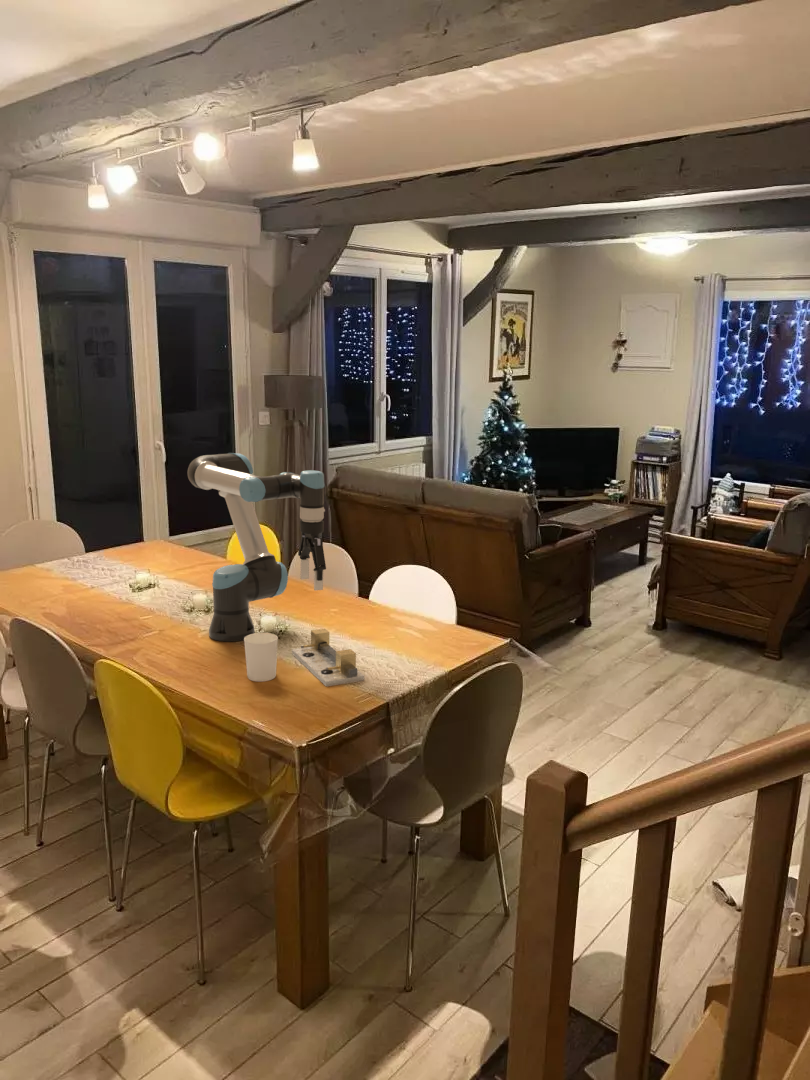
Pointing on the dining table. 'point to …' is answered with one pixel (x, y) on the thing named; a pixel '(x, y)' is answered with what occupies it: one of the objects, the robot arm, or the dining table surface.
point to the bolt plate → (329, 664)
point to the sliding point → (318, 638)
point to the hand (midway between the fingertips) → (311, 584)
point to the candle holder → (261, 656)
